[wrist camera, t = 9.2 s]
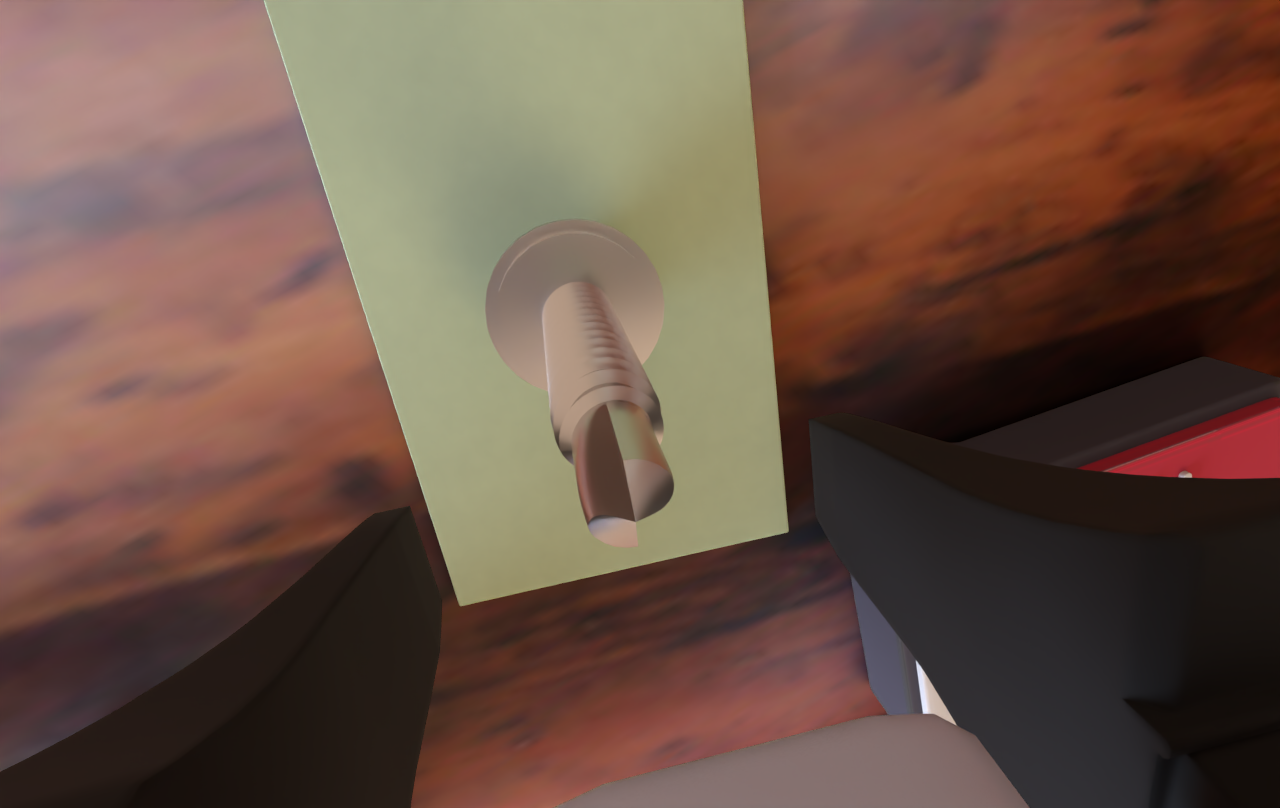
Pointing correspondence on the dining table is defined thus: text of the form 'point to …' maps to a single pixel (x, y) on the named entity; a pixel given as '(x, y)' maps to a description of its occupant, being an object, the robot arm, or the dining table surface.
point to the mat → (529, 197)
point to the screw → (589, 361)
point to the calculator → (1110, 470)
